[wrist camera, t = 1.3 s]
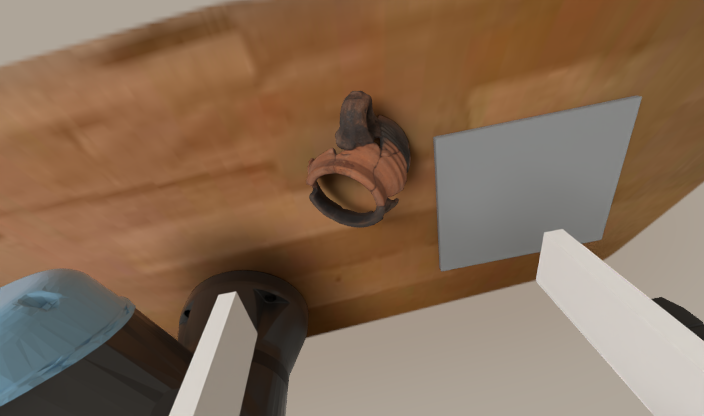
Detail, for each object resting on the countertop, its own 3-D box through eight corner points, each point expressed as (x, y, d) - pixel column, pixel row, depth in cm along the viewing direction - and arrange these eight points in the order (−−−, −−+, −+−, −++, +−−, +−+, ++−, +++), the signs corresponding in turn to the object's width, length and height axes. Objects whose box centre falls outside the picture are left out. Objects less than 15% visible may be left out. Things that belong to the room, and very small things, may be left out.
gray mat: (439, 268, 38) (441, 271, 37) (433, 137, 30) (435, 138, 29) (597, 236, 38) (601, 239, 37) (636, 95, 29) (642, 96, 29)
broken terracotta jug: (418, 181, 32) (401, 241, 27) (337, 174, 36) (308, 226, 30) (415, 66, 24) (389, 122, 19) (310, 71, 27) (263, 119, 22)
